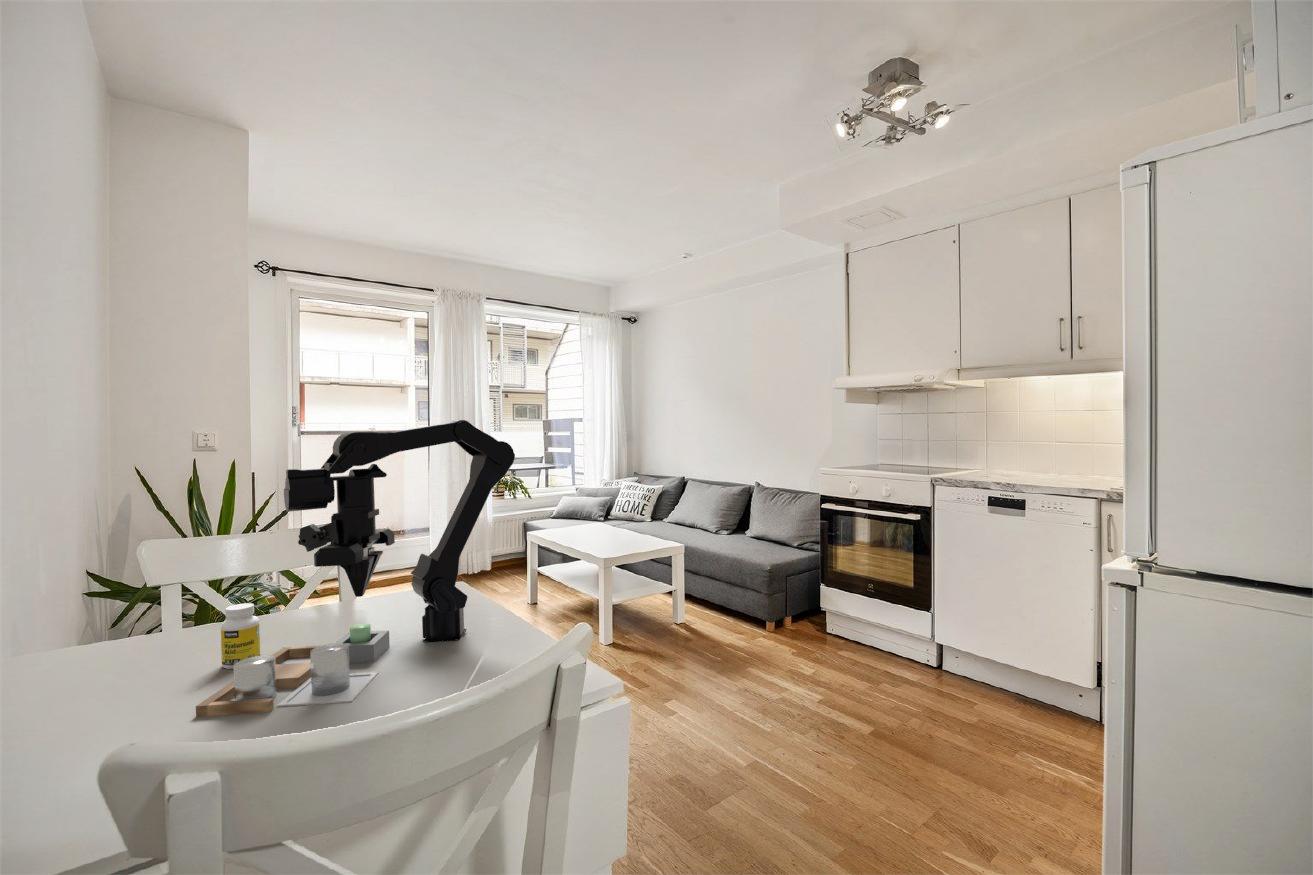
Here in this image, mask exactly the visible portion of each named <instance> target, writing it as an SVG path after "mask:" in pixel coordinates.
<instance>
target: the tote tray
mask: <svg viewBox="0 0 1313 875" xmlns="http://www.w3.org/2000/svg"><path fill="white" fill-rule="evenodd" d="M377 676H379V671H370V672H369V671H368V672H355V673H350V686H349V688H348V689H346V690H345V691H343V692H340V693H337V694H334V695H329V696H314V695H313V694H312V685H311V677H310V678H309V679H308V680H307V681H306V682H304V683H303V684H302V685H301V686H300V687H296V688H295V690H293V691H292V692H291V693H290V694H288V695H287V696H286V697H285V698H284V699H283V700H281V701H280V702H279V703H278V704H277V706H276V707H277V708H279V707H280V708H281V707H283V708H284V707H296V706H312V705H313V706H314V705H315V706H316V705H326V704H327V705H329V704H331V705H332V704H343V703H346V704H347V703H352V702H354V700H356V699H357V697H358V696H359V695H360V694H361V693H362V692H363V691H364V690H365V688H366V687H368V685H369V684H371V682H372V681H373V680H374V679H375V678H376V677H377Z"/></svg>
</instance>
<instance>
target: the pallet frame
mask: <svg viewBox="0 0 1313 875" xmlns="http://www.w3.org/2000/svg"><path fill="white" fill-rule="evenodd" d="M322 645H323V644H320V645H301V646H287V647H286V646H285V647H282V648H280V649H278V650H277V651H275V652H274V653H273V654H271V656H275V662H276V689H290V688H298V687H300V686H301V685H302V684H303V683H304V682H306V681H307V680H308V679H309V678H310V677H311V662H297V663H296V662H295V663H284V662H286V660H288V659H289V658H301V657H304V658H305V657H311V655H310V652H311V650H313V649H314V648H316V647H319V646H322ZM232 699H235V694H234V680H233V681H231V682H230V683H228V684H226V685H225V686H223V687H222V688H221V689H219V690H218V691H216V692H215V693H213V694H211V695H210V696H208V697H207V698H205V699H204V700H202V701H201V702H200V703H198V704H197V705H196V706H195V717H196V718H197V717H212V716H214V717H215V716H229V715H231V716H232V715H246V714H260V713H261V714H262V713H270V712H272V711H273V710H274V707H275V706H274V699H273V698H270V699H254V700H238V701H235V700H232Z"/></svg>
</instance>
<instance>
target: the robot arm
mask: <svg viewBox="0 0 1313 875" xmlns="http://www.w3.org/2000/svg"><path fill="white" fill-rule="evenodd" d="M454 442H455V443H456V445H457V446H459V447H460V448H461V449H462V450H464V452H466V453H467V454H468V455H470V456H471V457H472V459H471V462H470V470H469V479H468V482H467V484H466V486H465V488H464V490H463V493H462V494H461V496H460V499H459V501H458V502H457V504H456V506H455V509H454V511H453V513H452V515H451V517H450V520H449V521H448V523H447V525H446V527H445V530H444V532H443V534H442V536H441V538H440V539H439V541H438V544H437V546H436V547H435V549H433V550H432V552H431V553H430V554H428V555H426V554H425V553H421V554H420V556H419V558H418V559H417V560H418V561H417V564H416V566H415V567H414V569H412V571H410V574H411V575H412V578H411V587H412V590H413V592H414V593H415V594H417V595H418V596H419V597H421V598H422V600H423V602H424V603H425V604H427V606H426V607H424V614H423V615H422V616H421V622H422V628H421V629H422V638H423V641H422V643H424V644H425V643H438V642H439V643H441V642H457V641H460V640H461V638H464V636H465V635H466V633H467V632H466V631H467V628H465V620H464V618H465V615H464V614H465V613H464V612H465V611H464V608H465V607H466V604H467V600H468V595H467V594H466V593H464V592H463V591H462V590H460V589H459V588H458V587H457V586H456V583H457V580H458V577H459V576H458V575H459V570H460V568H459V566H460V559H461V555H462V554H463V553H462V552H463V551H464V548H465V547H466V545H467V543H468V542H467V541H468V540H469V538H470V536H471V534H472V532H473V529H474V527H475V525H476V524H477V522H478V518H479V517H480V514H481V512H482V510H483V508H484V506H485V504H486V501H487V500H488V497H489V496H490V493H491V491H492V490H493V488H494V487H495V486H496V485H497V484H498V483H499V482H500V481H501V480H502V479H503V478H504V477H505V476H506V474H507V472H508V471H509V470H510V469H511V467H512V465H513V464H514V462H515V459H516V454H515V452H514V448H513V447H512V446H511V445H510V444H509V443H508V442H507V441H506V442H505V441H503V440H500V441H499V440H497V439H496V438H495V437H493V436H491V435H490V434H488V433H486V432H485V431H482V430H481V429H479V428H477V427H476V426H475V425H473V424H472V423H471V422H470V421H468V420H465V419H457V420H452V421H450V422H445V423H439V424H433V425H427V426H422V427H416V428H414V427H413V428H410V429H409V428H408V429H403V430H398V431H392V432H391V431H384V432H383V431H381V432H380V431H355V432H354V431H352V432H345V433H342V434H340V435H338V437H336V439H335V440H334V442H333V446H332V453H331V454H330V456H328V458H327V460H326V461H325V462H323V465H322V466H320V468H313V469H311V468H310V469H297V468H296V469H295V468H288V469H286V470H285V475H286V476H285V485H284V487H285V488H283V499H284V507H285V512H287V513H289V512H300V511H309V510H311V511H312V510H322V509H327V507H328V506H329V505H328V504H331V503H332V502H334V501H335V496H336V501H337V502H336V504H337V506H336V507H337V512H334V513H332V515H331V517H330V523H327V524H324V525H322V526H319V527H318V526H317V525H316V524H315V523H312V524H311V523H310V524H309V525H306V526H304V527H300V529H299V535H298V541H297V543H298V545H299V546H303V547H304V548H305V550H306V552H307V553H309V552H311V551H314V550H315V549H318V548H319V549H318V550H317V551H316V552H315V553H314V554H313V562H314V563H313V566H314V567H316V568H317V567H321V568H322V567H337V566H339V567H341V568H343V570H344V572H345V574H346V576H347V579H348V581H349V584H350V585H351V588H352V591H353V593H354V596H355V597H356V598H361V597H363V596H364V595H365V593H366V591H367V588H368V585H369V584H370V581H371V579H372V576H373V574H374V572H375V569H376V567H377V565H378V563H379V560H380V559H381V556H382V555H383V553H384V550H375V549H376V547H373V546H374V545H382V544H385V546H388V547H389V546H391V545H394V544H395V540H396V538H395V532H394V531H393V530H391V529H390V528H376V516H378V515H380V508H376V507H375V506H376V505H375V504H376V502H375V478H376V479H377V478H386V477H387V475H388V474H387V472H384V471H383V470H382V469H381V468H380V467H379V466H378V464H377V463H374V462H377V461H380V460H382V459H384V458H386V457H388V456H391V455H394V454H396V453H399V452H400V453H401V452H404V451H410V450H411V451H412V450H417V449H422V448H427V447H432V446H437V445H438V446H439V445H443V444H448V443H449V444H450V443H454ZM369 464H370V466H369V467H368V468H354V467H362V466H365V465H369ZM352 468H353V469H352ZM347 471H348V475H340V476H338V475H337V476H331V475H335V474H344V473H346V472H347ZM335 481H336V483H335ZM335 484H336V490H335ZM335 491H336V492H335ZM335 493H336V495H335ZM465 632H466V633H465ZM463 635H464V636H463Z"/></svg>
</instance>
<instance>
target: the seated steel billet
mask: <svg viewBox="0 0 1313 875" xmlns="http://www.w3.org/2000/svg"><path fill="white" fill-rule="evenodd" d="M271 655H272V654H271ZM271 655H270V654H266V655H265V654H263V655H262V654H261V655H260V656H255V657H251V658H247V659H244V660H241V661H239V662H237V663H236V664H234V669H233V681H234V694H235V697H234V701H238V700H254V699H270V698H273V700H274V699H275V698H276V697H277V688H276V662H275V656H271Z"/></svg>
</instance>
